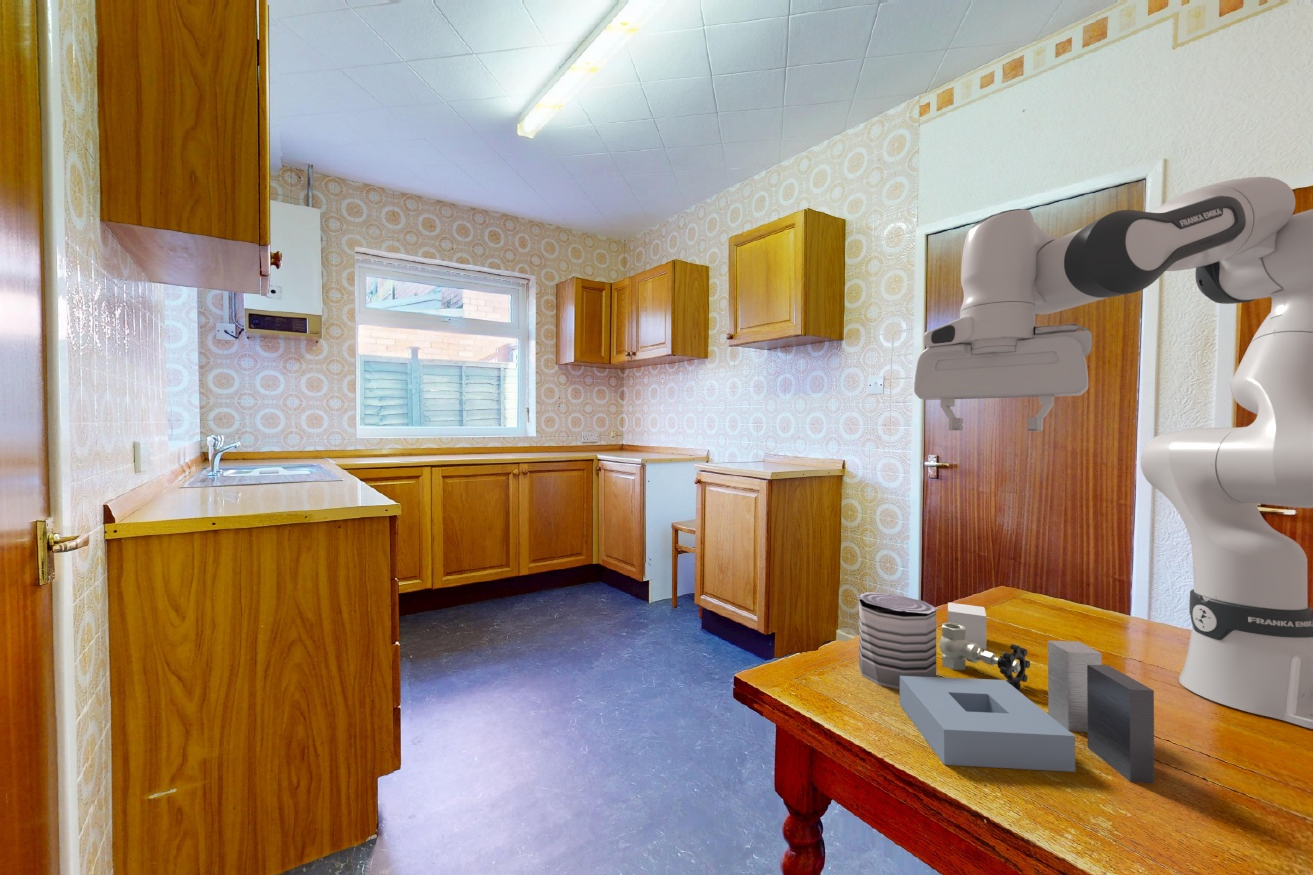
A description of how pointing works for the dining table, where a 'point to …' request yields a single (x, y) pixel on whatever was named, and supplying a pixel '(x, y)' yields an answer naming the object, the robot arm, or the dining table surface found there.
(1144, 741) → the dark grey rectangular slab
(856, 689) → the dining table surface
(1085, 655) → the square bit
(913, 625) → the can
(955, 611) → the white cube
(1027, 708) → the bore block
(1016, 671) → the valve
